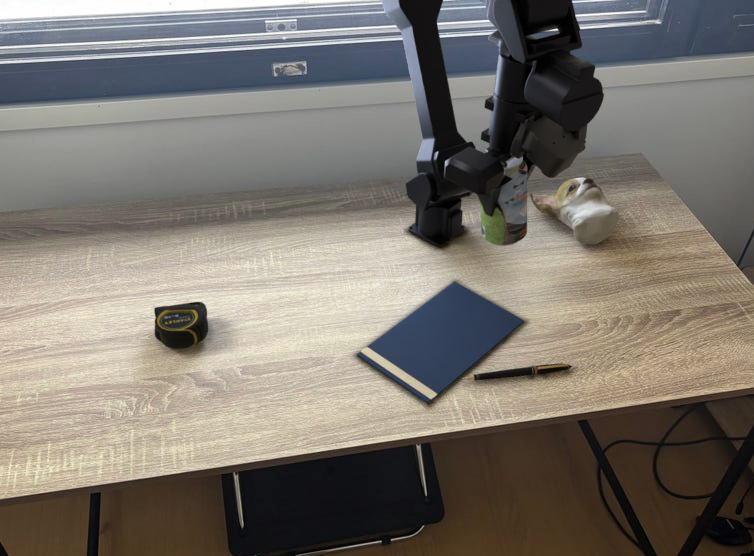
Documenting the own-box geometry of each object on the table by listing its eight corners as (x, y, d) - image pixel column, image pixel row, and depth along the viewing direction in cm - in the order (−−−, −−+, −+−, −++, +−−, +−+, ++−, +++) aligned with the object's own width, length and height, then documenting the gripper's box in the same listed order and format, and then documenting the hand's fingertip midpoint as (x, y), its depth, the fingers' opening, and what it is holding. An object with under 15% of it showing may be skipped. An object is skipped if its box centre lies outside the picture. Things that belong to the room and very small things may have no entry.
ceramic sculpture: (581, 208, 101) (530, 160, 112) (570, 259, 107) (523, 210, 118) (647, 195, 104) (591, 149, 114) (633, 246, 110) (581, 198, 120)
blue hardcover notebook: (356, 356, 94) (356, 353, 94) (454, 283, 104) (454, 280, 104) (427, 404, 88) (428, 402, 88) (523, 322, 98) (524, 320, 98)
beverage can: (523, 254, 96) (539, 174, 87) (468, 247, 97) (478, 167, 88) (526, 227, 100) (541, 148, 92) (473, 220, 101) (483, 142, 93)
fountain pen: (461, 386, 90) (462, 377, 89) (459, 379, 91) (460, 370, 90) (573, 373, 92) (575, 364, 91) (569, 366, 92) (572, 358, 91)
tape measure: (209, 316, 99) (204, 295, 97) (210, 351, 95) (206, 330, 92) (158, 322, 99) (152, 301, 96) (157, 358, 94) (150, 337, 91)
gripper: (528, 147, 75) (508, 266, 86) (623, 87, 85) (594, 201, 96) (446, 111, 81) (437, 227, 92) (543, 59, 90) (524, 170, 101)
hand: (501, 206), depth 95 cm, fingers closed on beverage can, 5 cm apart
